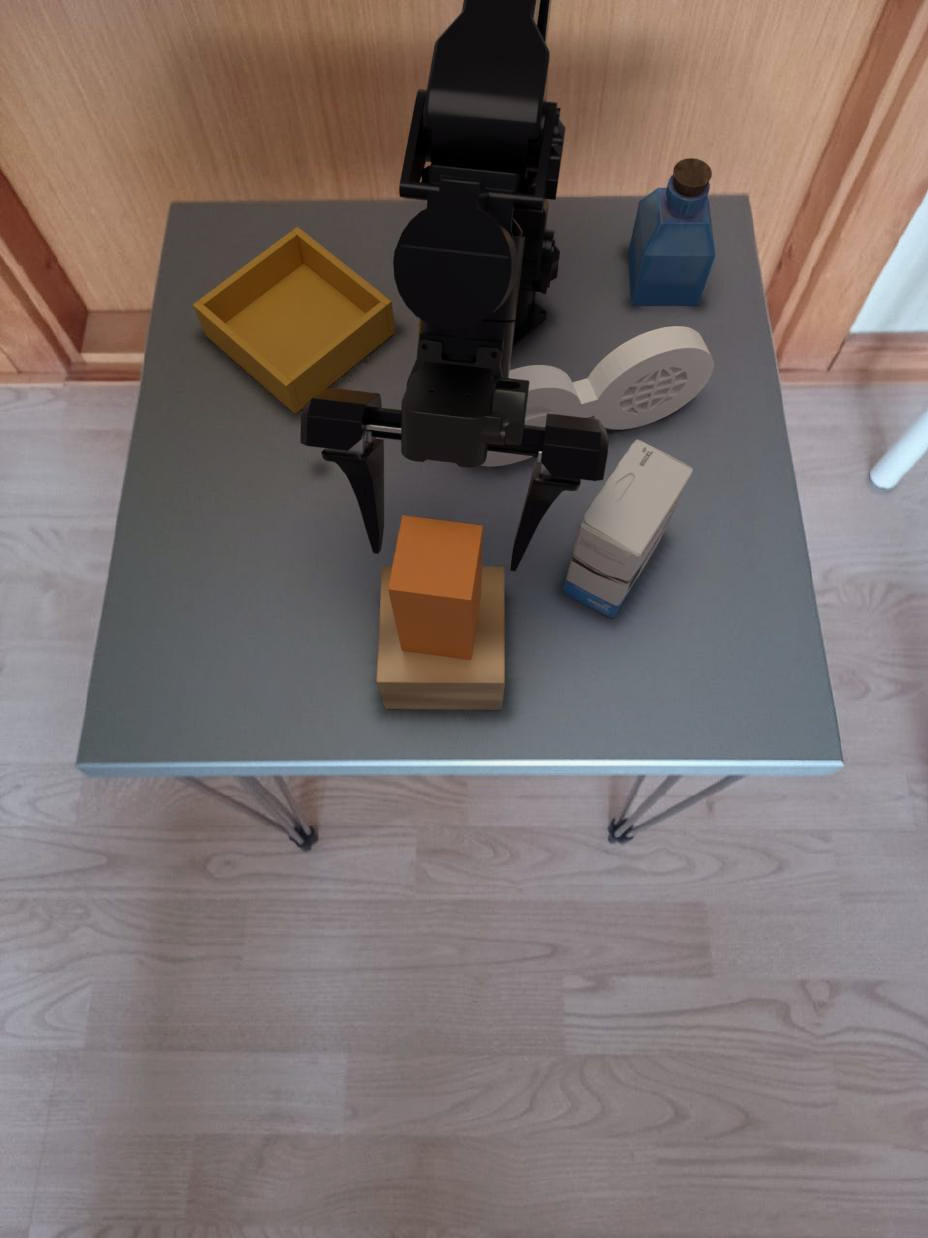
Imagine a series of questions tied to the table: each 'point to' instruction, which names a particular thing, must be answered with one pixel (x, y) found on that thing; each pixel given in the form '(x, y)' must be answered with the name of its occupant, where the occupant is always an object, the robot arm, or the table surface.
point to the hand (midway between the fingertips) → (444, 560)
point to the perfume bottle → (673, 240)
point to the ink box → (624, 527)
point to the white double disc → (620, 384)
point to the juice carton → (437, 586)
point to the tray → (296, 318)
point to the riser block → (445, 659)
